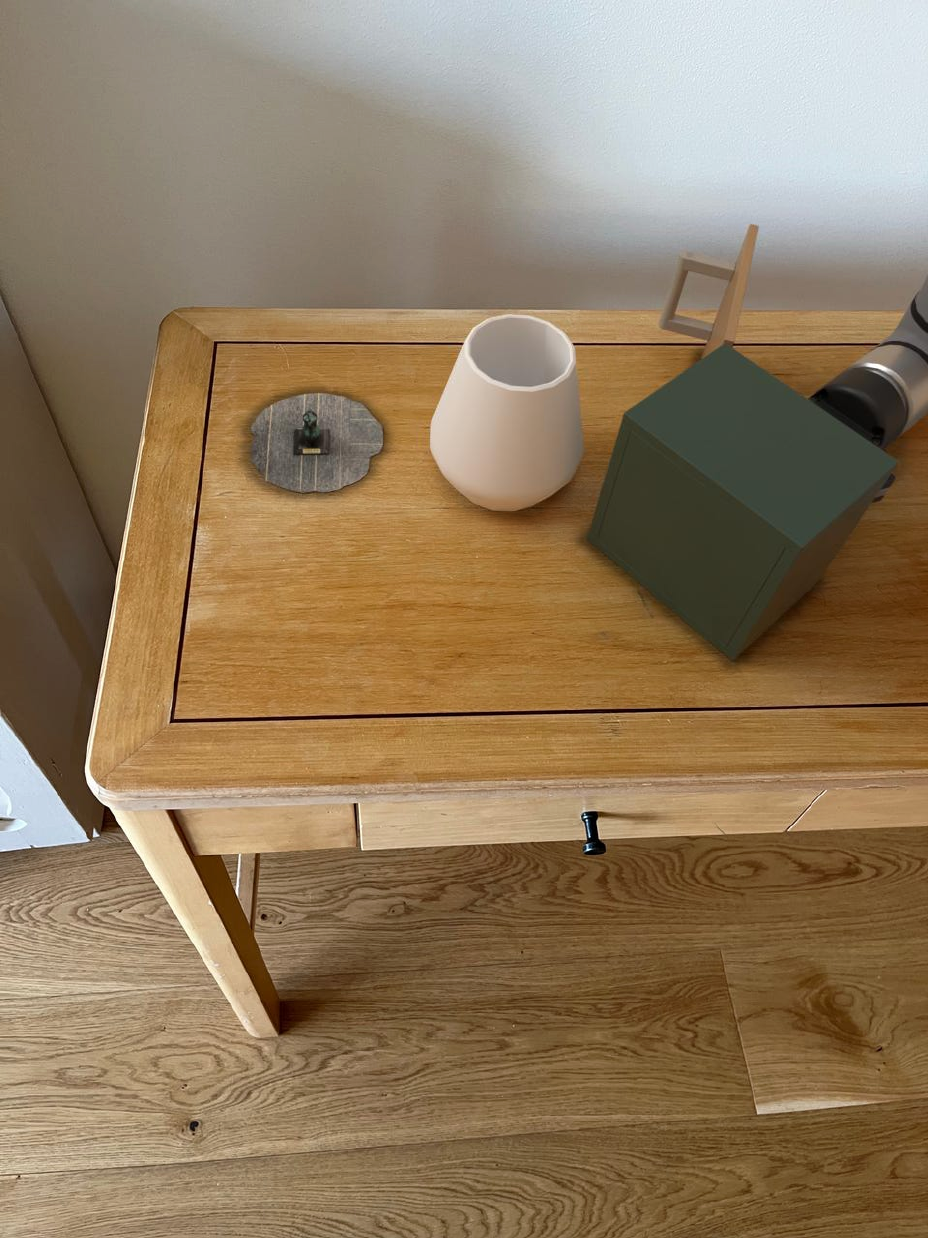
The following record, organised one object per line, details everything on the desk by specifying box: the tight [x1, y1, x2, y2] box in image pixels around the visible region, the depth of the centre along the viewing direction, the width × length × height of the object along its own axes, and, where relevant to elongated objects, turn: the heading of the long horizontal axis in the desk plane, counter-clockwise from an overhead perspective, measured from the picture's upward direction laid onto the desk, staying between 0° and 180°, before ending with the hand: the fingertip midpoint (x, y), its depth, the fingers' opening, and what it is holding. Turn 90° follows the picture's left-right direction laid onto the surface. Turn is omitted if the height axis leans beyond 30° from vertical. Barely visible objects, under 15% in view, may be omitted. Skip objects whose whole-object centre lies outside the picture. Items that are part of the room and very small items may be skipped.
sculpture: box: [249, 392, 384, 494], centre depth 84 cm, size 12×9×8 cm
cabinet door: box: [658, 223, 760, 360], centre depth 83 cm, size 6×16×15 cm, turn 163°
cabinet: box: [586, 343, 900, 662], centre depth 73 cm, size 12×16×15 cm
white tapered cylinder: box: [429, 313, 585, 512], centre depth 77 cm, size 13×13×14 cm
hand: (697, 542), depth 71 cm, fingers closed on toy, 4 cm apart
